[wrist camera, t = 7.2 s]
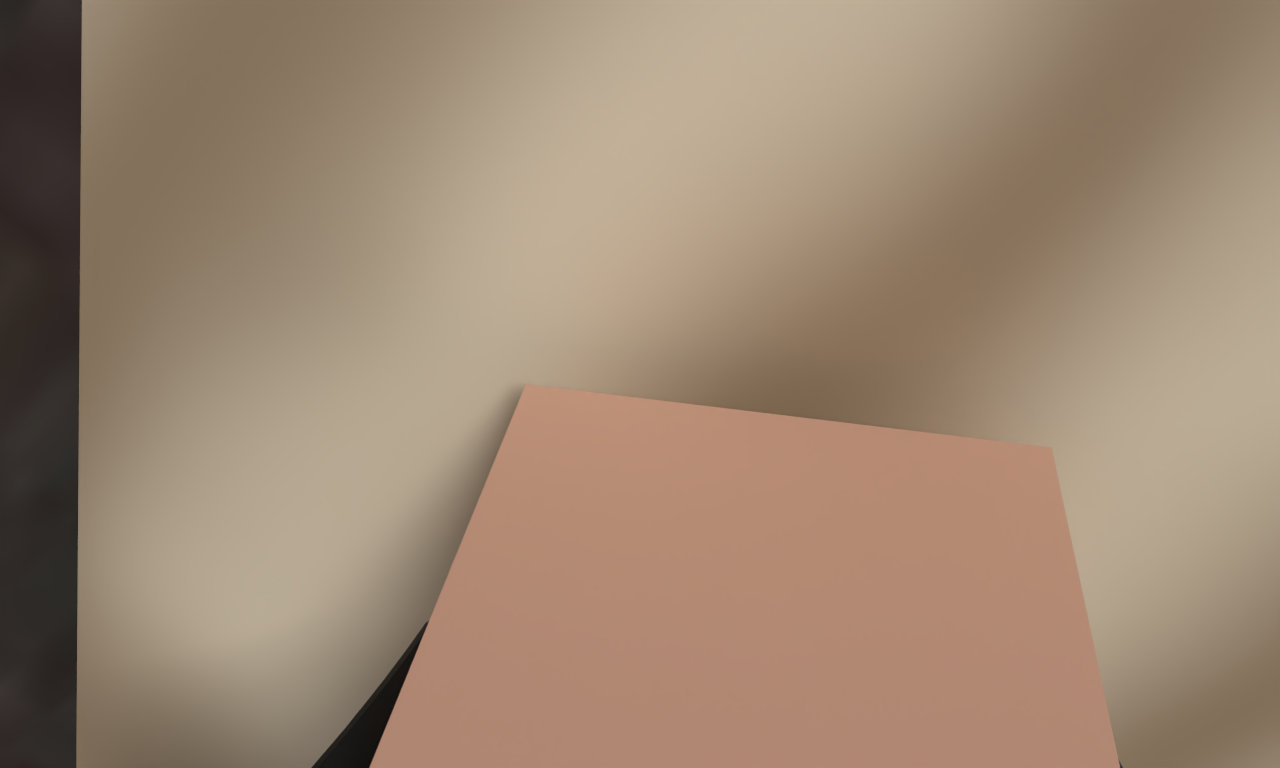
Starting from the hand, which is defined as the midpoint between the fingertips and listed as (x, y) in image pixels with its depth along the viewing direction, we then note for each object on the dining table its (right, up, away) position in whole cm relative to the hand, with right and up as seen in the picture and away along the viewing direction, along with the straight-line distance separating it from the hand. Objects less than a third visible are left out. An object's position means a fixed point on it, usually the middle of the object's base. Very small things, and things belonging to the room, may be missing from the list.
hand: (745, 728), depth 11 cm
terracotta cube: (0, +1, +1) cm, 2 cm away
